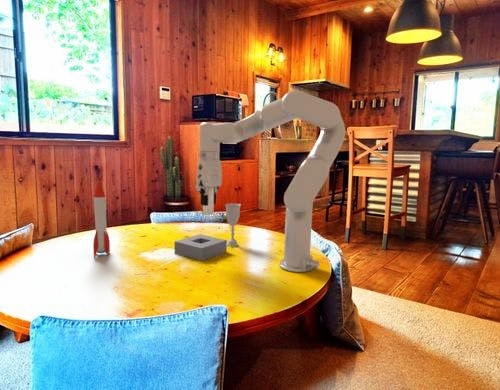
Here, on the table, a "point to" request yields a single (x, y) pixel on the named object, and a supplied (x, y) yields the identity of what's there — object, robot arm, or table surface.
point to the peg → (209, 202)
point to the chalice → (232, 220)
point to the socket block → (200, 247)
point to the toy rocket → (100, 222)
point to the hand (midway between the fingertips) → (208, 203)
